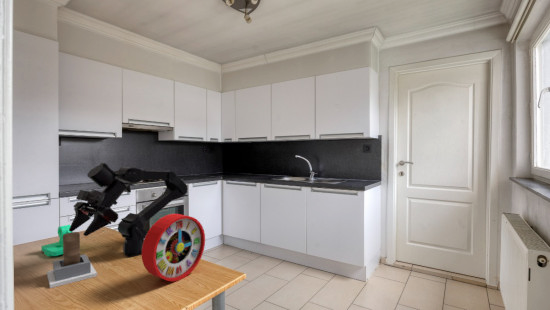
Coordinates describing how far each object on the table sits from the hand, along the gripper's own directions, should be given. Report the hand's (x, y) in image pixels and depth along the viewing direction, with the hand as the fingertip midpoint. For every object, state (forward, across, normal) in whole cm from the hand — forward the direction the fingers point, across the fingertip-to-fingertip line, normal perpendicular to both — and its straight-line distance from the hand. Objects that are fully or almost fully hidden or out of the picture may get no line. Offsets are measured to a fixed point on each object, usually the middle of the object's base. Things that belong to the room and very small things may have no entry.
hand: (77, 233), depth 94 cm
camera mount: (+6, -26, +14) cm, 30 cm away
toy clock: (-1, +30, +20) cm, 36 cm away
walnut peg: (+10, 0, +7) cm, 12 cm away
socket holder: (+11, 0, +8) cm, 13 cm away
